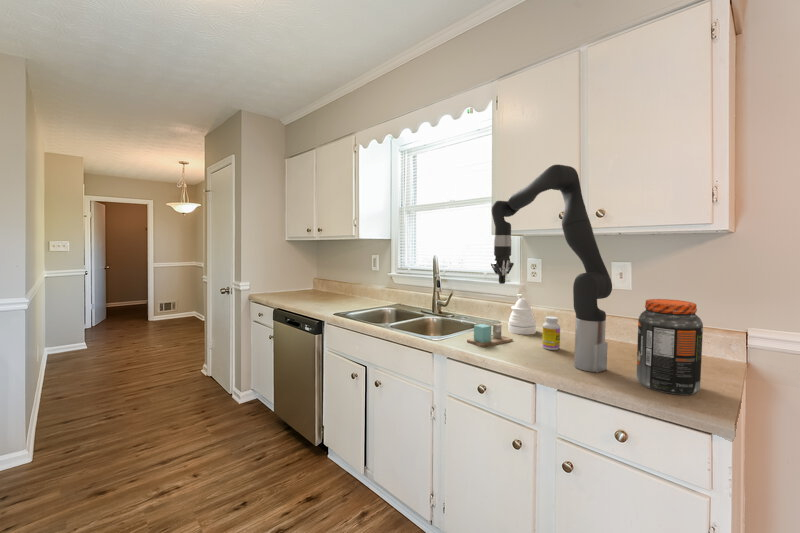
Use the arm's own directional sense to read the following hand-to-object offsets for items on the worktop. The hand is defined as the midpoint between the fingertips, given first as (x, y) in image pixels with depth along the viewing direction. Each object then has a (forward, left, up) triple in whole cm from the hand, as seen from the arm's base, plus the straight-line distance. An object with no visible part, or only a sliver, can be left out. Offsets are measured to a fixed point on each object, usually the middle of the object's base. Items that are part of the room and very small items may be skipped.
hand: (502, 283), depth 168 cm
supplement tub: (-67, +2, -25) cm, 72 cm away
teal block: (-2, +14, -24) cm, 28 cm away
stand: (-2, +9, -25) cm, 27 cm away
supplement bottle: (-23, -4, -25) cm, 34 cm away
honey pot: (+3, -18, -25) cm, 31 cm away
